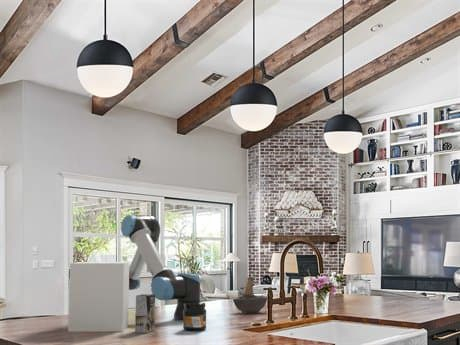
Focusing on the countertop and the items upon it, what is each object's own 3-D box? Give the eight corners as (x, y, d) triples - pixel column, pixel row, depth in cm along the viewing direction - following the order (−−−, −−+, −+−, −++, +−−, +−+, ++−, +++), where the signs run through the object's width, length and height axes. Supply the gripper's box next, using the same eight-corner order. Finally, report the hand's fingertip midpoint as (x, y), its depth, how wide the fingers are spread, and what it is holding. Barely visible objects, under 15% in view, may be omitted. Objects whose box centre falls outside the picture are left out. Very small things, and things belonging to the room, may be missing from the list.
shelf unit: (128, 325, 298) (129, 261, 301) (122, 331, 277) (123, 263, 280) (77, 325, 297) (79, 261, 300) (68, 331, 276) (70, 263, 280)
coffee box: (148, 333, 272) (149, 295, 274) (134, 332, 274) (135, 295, 276) (155, 330, 281) (155, 293, 283) (141, 329, 283) (142, 293, 284)
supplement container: (197, 332, 275) (197, 304, 276) (178, 330, 281) (178, 303, 282) (210, 329, 284) (210, 302, 285) (191, 327, 290) (192, 301, 291)
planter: (269, 312, 354) (268, 276, 356) (254, 315, 340) (254, 277, 342) (246, 310, 362) (246, 275, 364) (231, 313, 348) (231, 277, 350)
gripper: (130, 297, 334) (125, 277, 315) (98, 297, 334) (92, 277, 315) (131, 285, 339) (127, 264, 320) (99, 285, 338) (93, 264, 319)
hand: (109, 271), depth 317 cm, fingers closed on slate carton, 4 cm apart
